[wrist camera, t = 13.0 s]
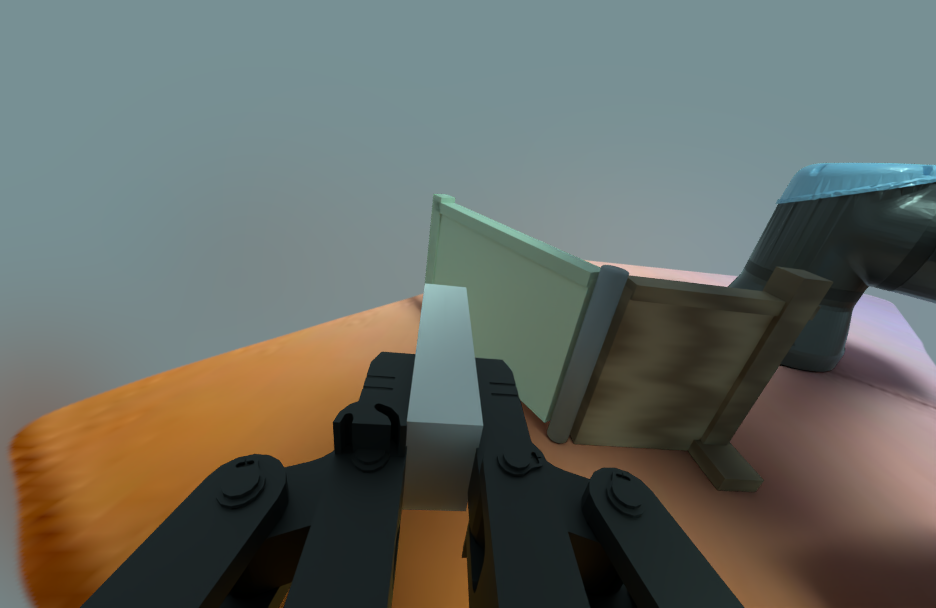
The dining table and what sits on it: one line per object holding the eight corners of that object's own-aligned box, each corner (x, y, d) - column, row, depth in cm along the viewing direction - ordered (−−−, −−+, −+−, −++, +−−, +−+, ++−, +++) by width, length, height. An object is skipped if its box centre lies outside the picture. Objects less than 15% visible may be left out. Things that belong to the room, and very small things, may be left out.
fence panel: (572, 438, 27) (634, 273, 21) (557, 446, 26) (618, 276, 20) (433, 310, 42) (447, 194, 36) (422, 312, 41) (433, 193, 35)
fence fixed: (686, 410, 32) (771, 255, 26) (755, 491, 25) (898, 305, 18) (556, 401, 31) (611, 234, 24) (590, 484, 24) (682, 279, 17)
